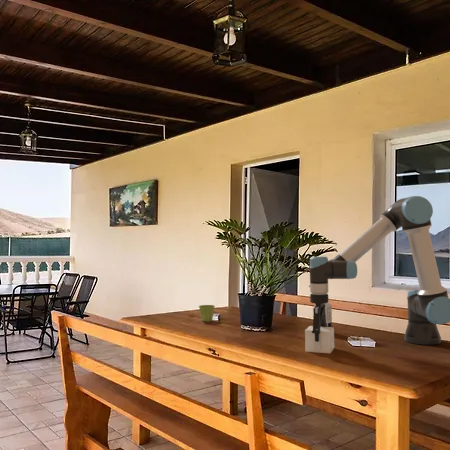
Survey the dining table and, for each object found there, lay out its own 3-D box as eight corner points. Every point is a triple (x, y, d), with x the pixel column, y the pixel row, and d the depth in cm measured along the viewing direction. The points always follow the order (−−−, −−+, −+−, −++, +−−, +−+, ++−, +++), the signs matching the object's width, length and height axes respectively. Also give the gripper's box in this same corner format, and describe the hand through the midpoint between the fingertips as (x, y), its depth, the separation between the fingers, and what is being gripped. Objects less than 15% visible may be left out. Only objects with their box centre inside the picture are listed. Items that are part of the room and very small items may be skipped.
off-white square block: (334, 348, 199) (333, 327, 199) (330, 353, 189) (329, 331, 190) (310, 346, 203) (310, 325, 203) (305, 351, 193) (305, 330, 194)
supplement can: (319, 335, 226) (319, 303, 227) (312, 331, 234) (311, 301, 235) (335, 333, 228) (334, 303, 229) (327, 330, 236) (326, 301, 237)
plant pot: (196, 320, 271) (196, 305, 272) (211, 319, 275) (211, 304, 276) (202, 322, 263) (202, 307, 263) (217, 321, 267) (217, 306, 267)
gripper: (315, 290, 209) (316, 340, 208) (304, 296, 188) (305, 351, 187) (332, 290, 206) (333, 341, 205) (323, 296, 185) (324, 353, 184)
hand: (320, 346), depth 196 cm, fingers open, 10 cm apart
